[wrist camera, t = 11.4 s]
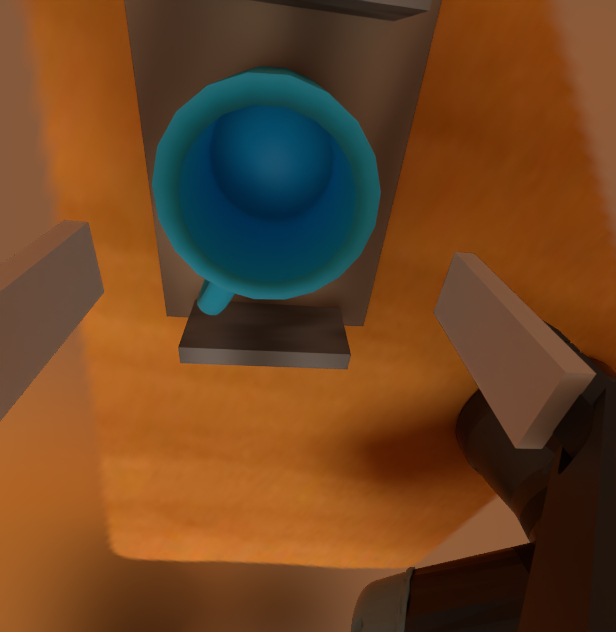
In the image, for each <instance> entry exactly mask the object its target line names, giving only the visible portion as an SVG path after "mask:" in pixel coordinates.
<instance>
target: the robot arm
mask: <svg viewBox="0 0 616 632" xmlns="http://www.w3.org/2000/svg"><path fill="white" fill-rule="evenodd" d="M103 293H104V289H103V284H102V280H101V276H100V271H99V267H98V263H97V258H96V254H95V250H94V245H93V241H92V237H91V232H90V228H89V224H88V222H80V221H68V220H64V221H62V222H61V223H60V224H58V225H57V226H55V227H54V228H52V229H51V230H50V231H48V232H47V233H45V234H44V235H42V236H41V237H39V238H38V239H37V240H35V241H34V242H32V243H31V244H29V245H28V246H27V247H25V248H24V249H22V250H21V251H19V252H18V253H16V254H15V255H14V256H12V257H11V258H9V259H8V260H6V261H5V262H3V263H2V264H1V265H0V421H1V420H2V418H3V417H4V416H5V415H6V414H7V412H8V411H9V410H10V409H11V407H12V406H13V405H14V404H15V402H16V401H17V400H18V399H19V397H20V396H21V395H22V394H23V392H24V391H25V390H26V389H27V387H28V386H29V385H30V384H31V382H32V381H33V380H34V379H35V378H36V376H37V375H38V374H39V373H40V371H41V370H42V369H43V368H44V366H45V365H46V364H47V363H48V361H49V360H50V359H51V358H52V356H53V355H54V353H56V351H57V350H58V349H59V348H60V346H61V345H62V344H63V343H64V341H65V340H66V339H67V338H68V336H69V335H70V334H71V332H72V331H73V330H74V329H75V328H76V326H77V325H78V324H79V323H80V321H81V320H82V319H83V318H84V317H85V315H86V314H87V313H88V312H89V310H90V309H91V308H92V307H93V305H94V304H95V303H96V302H97V300H98V299H99V298H100V297H101V295H102V294H103ZM433 313H434V314H435V316H436V318H437V319H438V321H439V323H440V324H441V326H442V328H443V329H444V331H445V333H446V334H447V336H448V338H449V339H450V341H451V342H452V344H453V346H454V347H455V349H456V351H457V352H458V354H459V356H460V357H461V359H462V361H463V362H464V364H465V366H466V367H467V369H468V371H469V372H470V374H471V376H472V377H473V379H474V381H475V382H476V384H477V385H478V387H479V389H480V391H479V392H477V393H476V394H475V395H474V396H473V397H472V398H471V400H470V401H469V402H468V403H467V404H466V406H465V407H464V409H463V410H462V412H461V414H460V416H459V418H458V421H457V425H456V436H457V440H458V442H459V444H460V446H461V449H462V451H463V453H464V455H465V457H466V459H467V461H468V462H469V464H470V465H471V466H472V467H473V468H474V469H475V470H476V471H477V472H478V473H479V474H480V475H482V476H483V478H484V479H485V480H486V481H487V482H488V484H489V485H490V486H491V487H492V488H493V490H494V491H495V492H496V493H497V494H498V495H499V496H500V498H501V499H502V500H503V501H504V502H505V503H506V504H507V505H508V506H509V508H510V509H511V510H512V511H513V512H514V513H515V515H516V516H517V518H518V520H519V522H520V524H521V526H522V528H523V530H524V532H525V534H526V535H527V537H528V539H529V541H530V543H527V544H523V545H519V546H515V547H510V548H505V549H501V550H497V551H493V552H488V553H484V554H479V555H475V556H470V557H466V558H462V559H458V560H453V561H449V562H445V563H440V564H436V565H431V566H427V567H423V568H418V569H415V567H410V568H408V569H407V570H406V572H403V573H400V574H396V575H393V576H389V577H386V578H383V579H379V580H376V581H373V582H371V583H370V584H368V585H367V586H366V587H365V588H364V589H363V590H362V592H361V593H360V595H359V597H358V600H357V602H356V605H355V608H354V613H353V618H352V624H351V632H616V373H615V372H614V371H613V370H612V369H611V368H610V367H608V366H607V365H606V364H604V363H602V362H600V361H597V360H594V359H591V358H587V357H586V356H585V355H584V354H583V353H580V352H579V351H580V350H579V349H578V348H577V347H576V346H575V345H574V344H572V343H570V341H569V340H568V339H567V338H566V337H565V336H564V335H563V334H562V333H561V332H560V331H559V330H557V329H556V328H554V327H553V326H551V325H549V324H548V323H546V322H545V321H543V320H541V319H540V318H539V317H538V316H537V315H536V314H535V313H534V312H533V311H532V310H531V309H530V308H529V307H528V306H527V305H526V304H525V303H524V302H523V301H522V300H521V299H520V298H519V297H518V296H517V295H516V294H515V293H514V292H513V291H512V290H511V289H510V288H509V287H508V286H507V285H506V284H505V283H504V282H503V281H502V280H501V279H500V278H499V277H498V276H497V275H496V274H495V273H494V272H493V271H492V270H491V269H490V268H489V267H488V266H486V265H485V264H484V263H483V262H482V261H481V260H480V259H479V258H478V257H477V256H476V255H475V254H474V253H464V252H455V253H454V256H453V259H452V261H451V264H450V267H449V270H448V273H447V276H446V278H445V281H444V284H443V287H442V290H441V293H440V295H439V298H438V301H437V304H436V307H435V310H434V312H433Z"/></svg>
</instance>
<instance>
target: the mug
mask: <svg viewBox="0 0 616 632" xmlns="http://www.w3.org/2000/svg"><path fill="white" fill-rule="evenodd" d="M152 187H153V193H154V198H155V204H156V209H157V215H158V220H159V222H160V223H161V225H162V227H163V229H164V231H165V233H166V235H167V237H168V239H169V241H170V243H171V244H172V246H173V248H174V250H175V251H176V252H177V253H178V254H179V255H180V256H181V258H182V259H183V260H184V261H185V262H186V263H187V264H188V265H189V266H190V267H191V268H192V269H193V270H194V271H195V272H196V273H197V274H198V275H200V276H201V277H203V278H205V280H204V282H203V285H202V287H201V290H200V293H199V296H198V300H197V305H198V307H199V308H200V310H201V311H202V312H204V313H206V314H208V315H218V314H219V313H221V312H222V311H223V310H224V309H225V308H226V306H227V305H228V303H229V302H230V300H231V299H232V298H233V296H234V295H235V294H238V295H242V296H246V297H249V298H253V299H289V298H292V297H296V296H300V295H304V294H308V293H312V292H315V291H316V290H318V289H320V288H321V287H323V286H325V285H327V284H328V283H330V282H332V281H333V280H335V279H337V278H339V277H340V276H341V275H342V274H343V273H344V272H345V271H346V270H347V269H348V268H349V266H350V265H351V264H352V263H353V262H354V261H355V260H356V259H357V258H358V257H359V256H360V255H361V253H362V251H363V249H364V247H365V245H366V243H367V241H368V239H369V237H370V235H371V233H372V231H373V229H374V227H375V224H376V218H377V212H378V206H379V200H380V194H381V190H380V184H379V177H378V170H377V163H376V156H375V154H374V152H373V150H372V148H371V146H370V144H369V142H368V140H367V138H366V136H365V134H364V132H363V130H362V128H361V126H360V124H359V122H358V121H357V120H356V119H355V118H354V117H353V116H352V115H351V114H350V113H349V112H348V111H347V110H346V109H345V108H344V107H343V106H342V105H341V104H340V103H339V102H338V101H337V100H335V99H334V98H333V97H332V96H331V95H330V94H329V93H328V92H327V91H326V90H324V89H323V88H322V87H321V86H319V85H318V84H317V83H316V82H314V81H313V80H312V79H310V78H308V77H306V76H304V75H301V74H299V73H297V72H295V71H293V70H291V69H288V68H285V67H269V66H258V67H255V68H252V69H249V70H246V71H242V72H239V73H236V74H234V75H231V76H229V77H226V78H224V79H221V80H219V81H217V82H214V83H212V84H209V85H207V86H206V87H205V88H204V89H202V90H201V91H200V92H199V93H198V94H196V95H195V96H194V97H193V98H192V99H190V100H189V101H188V102H187V103H186V104H184V105H183V106H182V107H181V108H180V109H179V110H177V111H176V113H175V114H174V116H173V118H172V120H171V122H170V124H169V126H168V127H167V129H166V131H165V133H164V135H163V137H162V138H161V140H160V142H159V144H158V146H157V152H156V158H155V165H154V172H153V179H152Z"/></svg>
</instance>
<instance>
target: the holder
mask: <svg viewBox="0 0 616 632" xmlns="http://www.w3.org/2000/svg"><path fill="white" fill-rule="evenodd" d="M441 1H442V0H124V2H125V9H126V17H127V24H128V32H129V39H130V46H131V54H132V61H133V69H134V76H135V83H136V91H137V98H138V106H139V113H140V121H141V128H142V135H143V143H144V150H145V158H146V165H147V172H148V180H149V187H150V195H151V202H152V209H153V217H154V224H155V232H156V239H157V246H158V254H159V261H160V269H161V276H162V283H163V291H164V298H165V306H166V313H167V316H172V317H189V318H188V321H187V324H186V327H185V330H184V333H183V336H182V338H181V341H180V344H179V347H178V348H179V357H180V363H193V364H220V365H246V366H273V367H300V368H326V369H348V364H349V360H350V356H351V354H350V349H349V345H348V341H347V336H346V332H345V328H344V325H348V326H363V325H364V321H365V317H366V313H367V309H368V304H369V300H370V296H371V292H372V288H373V284H374V280H375V275H376V271H377V267H378V263H379V259H380V255H381V250H382V246H383V242H384V238H385V234H386V230H387V225H388V221H389V217H390V213H391V209H392V205H393V200H394V196H395V192H396V188H397V184H398V180H399V176H400V171H401V167H402V163H403V159H404V155H405V151H406V146H407V142H408V138H409V134H410V130H411V126H412V121H413V117H414V113H415V109H416V105H417V101H418V96H419V92H420V88H421V84H422V80H423V76H424V71H425V67H426V63H427V59H428V55H429V51H430V47H431V42H432V38H433V34H434V30H435V26H436V22H437V17H438V13H439V9H440V5H441ZM258 66H269V67H285V68H288V69H291V70H293V71H295V72H297V73H299V74H301V75H304V76H306V77H308V78H310V79H312V80H313V81H314V82H316V83H317V84H318V85H319V86H321V87H322V88H323V89H324V90H326V91H327V92H328V93H329V94H330V95H331V96H332V97H333V98H334V99H335V100H337V101H338V102H339V103H340V104H341V105H342V106H343V107H344V108H345V109H346V110H347V111H348V112H349V113H350V114H351V115H352V116H353V117H354V118H355V119H356V120H357V121H358V122H359V124H360V126H361V128H362V130H363V132H364V134H365V136H366V138H367V140H368V142H369V144H370V146H371V148H372V150H373V152H374V154H375V156H376V163H377V170H378V177H379V184H380V190H381V194H380V200H379V206H378V212H377V218H376V224H375V227H374V229H373V231H372V233H371V235H370V237H369V239H368V241H367V243H366V245H365V247H364V249H363V251H362V253H361V255H360V256H359V257H358V258H357V259H356V260H355V261H354V262H353V263H352V264H351V265H350V266H349V268H348V269H347V270H346V271H345V272H344V273H343V274H342V275H341V276H340V277H339V278H337V279H335V280H333V281H332V282H330V283H328V284H327V285H325V286H323V287H321V288H320V289H318V290H316V291H315V292H312V293H308V294H304V295H300V296H296V297H292V298H289V299H253V298H249V297H246V296H242V295H238V294H235V295H234V296H233V298H232V299H231V300H230V302H229V303H228V305H227V306H226V308H225V309H224V310H223V311H222V312H221V313H219V314H218V315H208V314H206V313H204V312H202V311H201V310H200V308H199V307H198V305H197V300H198V296H199V293H200V290H201V287H202V285H203V282H204V280H205V278H203V277H201V276H200V275H198V274H197V273H196V272H195V271H194V270H193V269H192V268H191V267H190V266H189V265H188V264H187V263H186V262H185V261H184V260H183V259H182V258H181V256H180V255H179V254H178V253H177V252H176V251H175V250H174V248H173V246H172V244H171V243H170V241H169V239H168V237H167V235H166V233H165V231H164V229H163V227H162V225H161V223H160V222H159V220H158V215H157V209H156V204H155V198H154V193H153V187H152V179H153V172H154V165H155V158H156V152H157V146H158V144H159V142H160V140H161V138H162V137H163V135H164V133H165V131H166V129H167V127H168V126H169V124H170V122H171V120H172V118H173V116H174V114H175V113H176V111H177V110H179V109H180V108H181V107H182V106H183V105H184V104H186V103H187V102H188V101H189V100H190V99H192V98H193V97H194V96H195V95H196V94H198V93H199V92H200V91H201V90H202V89H204V88H205V87H206V86H207V85H209V84H212V83H214V82H217V81H219V80H221V79H224V78H226V77H229V76H231V75H234V74H236V73H239V72H242V71H246V70H249V69H252V68H255V67H258Z"/></svg>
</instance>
